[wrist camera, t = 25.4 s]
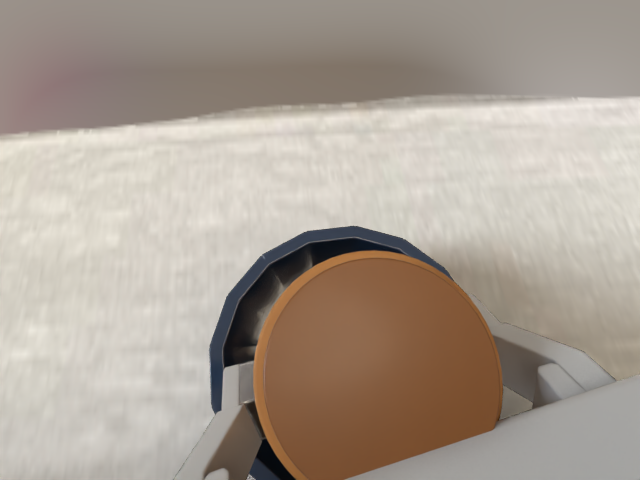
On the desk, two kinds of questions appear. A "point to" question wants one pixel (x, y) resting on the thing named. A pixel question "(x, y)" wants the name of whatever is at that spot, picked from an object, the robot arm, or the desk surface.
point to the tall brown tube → (372, 366)
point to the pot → (262, 293)
